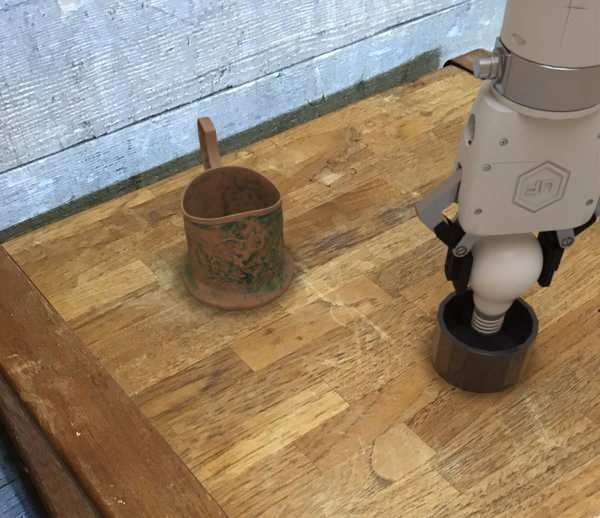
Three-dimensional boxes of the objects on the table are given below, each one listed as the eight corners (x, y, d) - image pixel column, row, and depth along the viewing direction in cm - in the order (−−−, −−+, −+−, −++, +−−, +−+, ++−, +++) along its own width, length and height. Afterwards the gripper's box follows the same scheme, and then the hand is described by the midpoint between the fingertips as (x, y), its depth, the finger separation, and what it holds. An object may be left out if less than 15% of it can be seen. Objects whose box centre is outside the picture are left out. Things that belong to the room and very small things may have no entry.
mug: (260, 197, 85) (255, 99, 76) (308, 295, 74) (308, 194, 65) (162, 217, 83) (144, 118, 74) (196, 321, 72) (180, 220, 63)
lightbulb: (461, 297, 69) (483, 198, 60) (528, 318, 67) (560, 218, 59) (439, 341, 65) (458, 242, 57) (509, 364, 63) (540, 265, 55)
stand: (509, 320, 72) (520, 281, 68) (538, 388, 66) (552, 349, 63) (421, 328, 71) (427, 289, 68) (443, 397, 66) (451, 359, 62)
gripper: (435, 108, 45) (405, 320, 59) (706, 89, 46) (614, 301, 60) (409, 51, 50) (387, 260, 63) (655, 35, 51) (581, 243, 65)
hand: (498, 278), depth 61 cm, fingers closed on lightbulb, 6 cm apart
